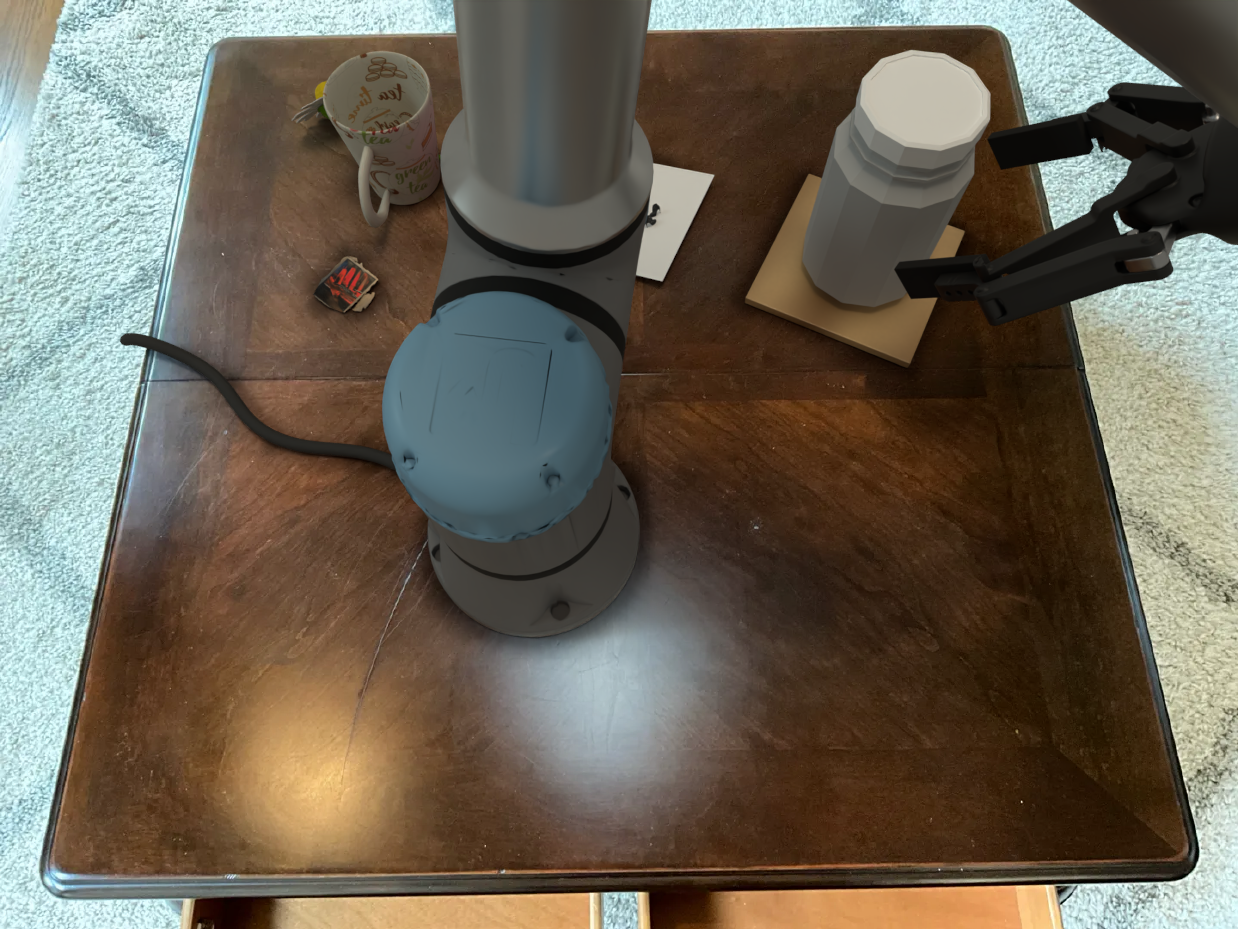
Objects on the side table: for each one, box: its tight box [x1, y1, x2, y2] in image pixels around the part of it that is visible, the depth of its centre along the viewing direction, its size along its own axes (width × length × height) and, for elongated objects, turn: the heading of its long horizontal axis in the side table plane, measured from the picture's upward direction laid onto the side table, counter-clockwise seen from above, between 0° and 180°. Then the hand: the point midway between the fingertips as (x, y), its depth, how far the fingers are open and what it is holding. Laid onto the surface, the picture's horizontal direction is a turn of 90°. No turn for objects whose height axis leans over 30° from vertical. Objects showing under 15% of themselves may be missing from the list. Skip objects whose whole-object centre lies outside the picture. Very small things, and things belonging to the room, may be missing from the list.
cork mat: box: [744, 173, 966, 369], centre depth 73 cm, size 14×14×1 cm
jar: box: [802, 49, 991, 307], centre depth 64 cm, size 10×10×18 cm
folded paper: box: [636, 162, 715, 282], centre depth 75 cm, size 12×12×2 cm
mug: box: [323, 50, 441, 229], centre depth 72 cm, size 8×13×10 cm, turn 175°
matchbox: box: [312, 255, 379, 313], centre depth 73 cm, size 5×5×1 cm
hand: (951, 213), depth 62 cm, fingers open, 13 cm apart
